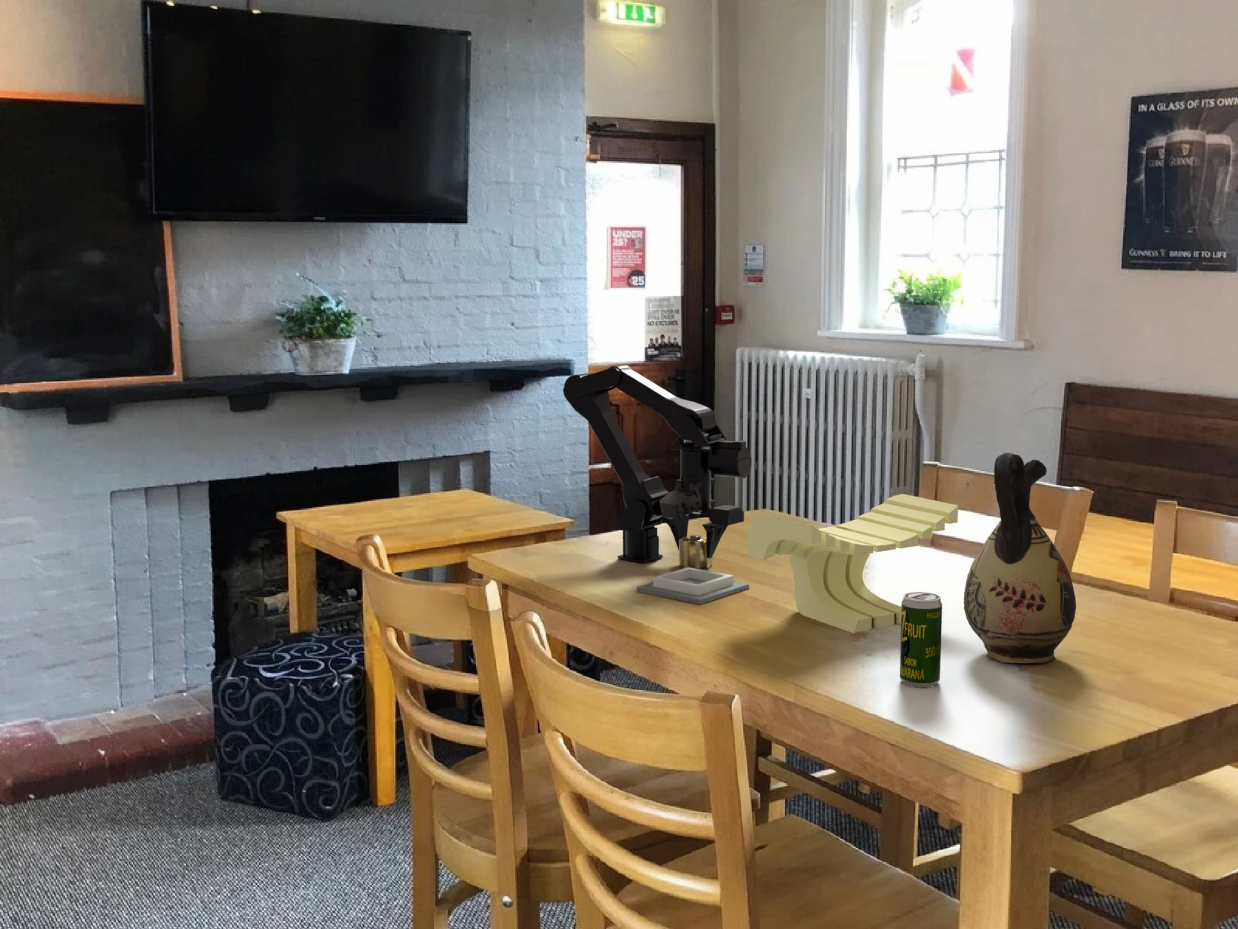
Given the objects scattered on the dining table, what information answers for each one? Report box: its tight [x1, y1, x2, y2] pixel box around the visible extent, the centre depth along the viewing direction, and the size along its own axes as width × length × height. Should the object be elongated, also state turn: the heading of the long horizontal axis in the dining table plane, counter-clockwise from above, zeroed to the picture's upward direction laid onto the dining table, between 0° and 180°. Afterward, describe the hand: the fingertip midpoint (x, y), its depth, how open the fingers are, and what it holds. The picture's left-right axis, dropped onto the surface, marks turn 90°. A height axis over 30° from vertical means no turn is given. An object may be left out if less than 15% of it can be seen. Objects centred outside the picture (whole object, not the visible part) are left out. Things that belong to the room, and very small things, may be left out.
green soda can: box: [899, 591, 943, 688], centre depth 177 cm, size 5×5×12 cm
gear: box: [678, 534, 713, 570], centre depth 247 cm, size 6×6×6 cm
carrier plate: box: [636, 567, 750, 605], centre depth 229 cm, size 14×14×2 cm
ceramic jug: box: [963, 452, 1077, 664], centre depth 186 cm, size 17×15×30 cm
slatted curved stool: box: [747, 493, 959, 634], centre depth 210 cm, size 30×16×18 cm, turn 121°
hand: (695, 555), depth 247 cm, fingers closed on gear, 6 cm apart
